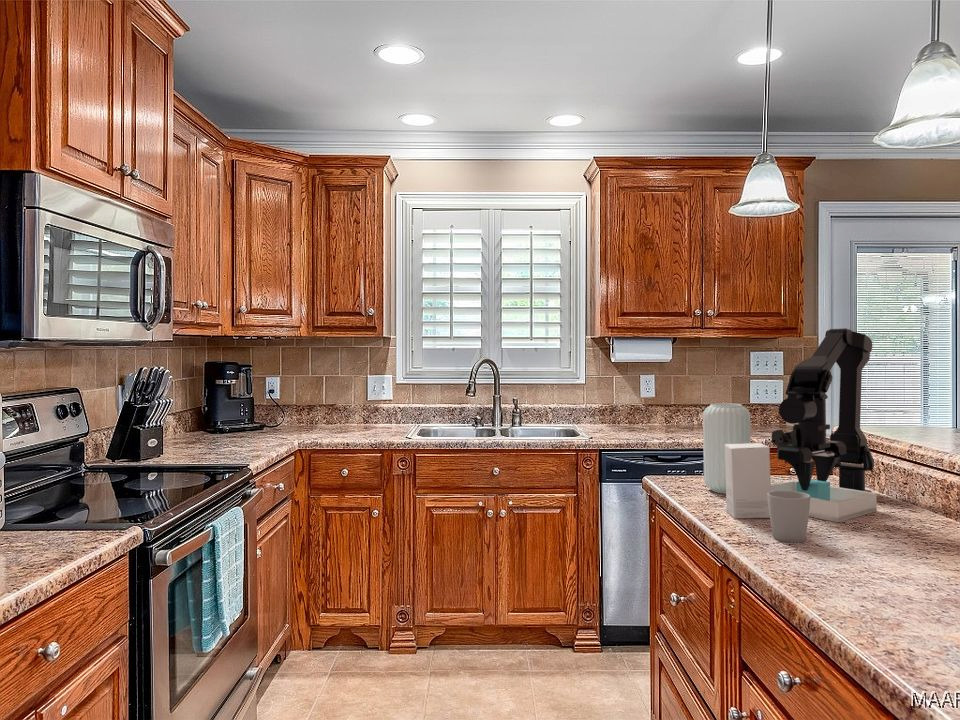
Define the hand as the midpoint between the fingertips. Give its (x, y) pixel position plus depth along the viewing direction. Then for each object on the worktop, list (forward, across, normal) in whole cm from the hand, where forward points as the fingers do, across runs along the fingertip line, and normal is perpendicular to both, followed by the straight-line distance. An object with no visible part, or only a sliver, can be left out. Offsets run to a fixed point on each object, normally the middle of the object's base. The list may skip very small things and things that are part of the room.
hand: (812, 488), depth 155 cm
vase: (+5, -2, -24) cm, 25 cm away
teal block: (+4, 0, 0) cm, 4 cm away
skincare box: (+5, +17, -5) cm, 18 cm away
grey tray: (+4, 0, 0) cm, 4 cm away
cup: (+5, +26, +10) cm, 28 cm away
